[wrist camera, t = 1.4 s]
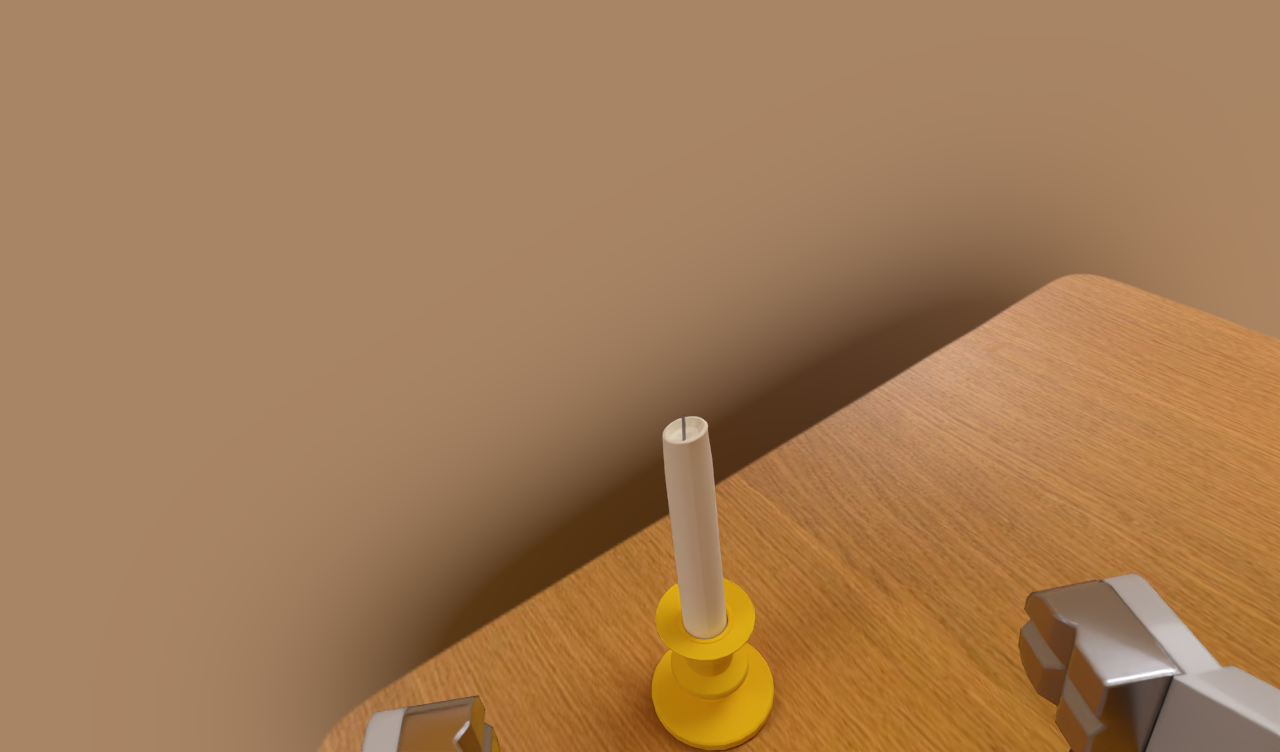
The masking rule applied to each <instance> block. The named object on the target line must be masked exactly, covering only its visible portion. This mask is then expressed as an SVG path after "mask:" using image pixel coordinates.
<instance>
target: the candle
mask: <svg viewBox="0 0 1280 752" xmlns="http://www.w3.org/2000/svg"><path fill="white" fill-rule="evenodd" d="M707 429H708V424H707V423H706V421H705V420H703V419H702V418H699V417H694V416H691V417H684V415H683V416H682V418H680V419H678V420H675V421H674V422H672V423H671V424H669V425H668V426H667V427H666V428H665V430H664V432H663V452H664V466H665V479H666V487H667V495H668V503H669V511H670V520H671V528H672V536H673V544H674V552H675V561H676V569H677V577H678V583H677V584H675V585H674V586H672V587H671V588H670V589H669V590H668V591H667V592H666V593H665V594H664V596H663V597H662V599H661V600H660V602H659V604H658V607H657V610H656V627H657V630H658V634H659V636H660V638H661V639H662V641H663V642H664V644H665V645H666V646H667V647H668V648H669V649H670V650H669V651H668V652H666V653H665V654H664V655H663V657H662V659H661V660H660V662H659V663H658V665H657V667H656V669H655V673H654V676H653V680H652V699H653V703H654V707H655V710H656V714H657V716H658V718H659V719H660V721H661V723H662V724H663V726H664V727H665V729H666V730H667V731H668V732H669V733H671V734H672V735H673V736H674V737H675V738H676V739H677V740H679V741H681V742H683V743H685V744H687V745H689V746H691V747H695V748H699V749H704V750H726V749H729V748H732V747H735V746H738V745H741V744H743V743H744V742H746V741H748V740H749V739H751V738H752V737H754V736H755V735H756V734H757V733H758V732H759V731H760V729H761V728H762V727H763V726H764V725H765V724H766V721H767V719H768V717H769V715H770V713H771V711H772V706H773V700H774V686H773V678H772V674H771V672H770V669H769V667H768V665H767V663H766V661H765V660H764V659H763V657H762V656H761V655H760V654H759V652H758V651H757V650H756V649H754V648H753V647H752V646H750V645H749V644H748V643H746V642H747V641H748V639H749V638H750V636H751V634H752V632H753V629H754V624H755V613H754V607H753V605H752V602H751V600H750V598H749V596H748V595H747V594H746V593H745V592H744V591H743V589H742V588H740V587H739V586H737V585H736V584H735V583H733V582H731V581H729V580H726V579H724V578H723V574H722V563H721V552H720V541H719V530H718V519H717V508H716V497H715V486H714V475H713V464H712V455H711V449H710V442H709V437H708V430H707Z"/></svg>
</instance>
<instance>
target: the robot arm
mask: <svg viewBox="0 0 1280 752" xmlns="http://www.w3.org/2000/svg"><path fill="white" fill-rule="evenodd" d="M1024 610H1025V611H1026V613H1027V614H1028V616H1029V618H1030V620H1029V621H1028V622H1027V623H1026V624H1025V625H1024V626H1023V627H1022V628H1021V629H1020V636H1019V644H1018V646H1019V651H1020V655H1021V660H1022V664H1023V666H1024V669H1025V671H1026V674H1027V676H1028V678H1029V680H1030V682H1031V683H1032V685H1033V687H1034V688H1035V690H1036V692H1037V693H1038V694H1039V695H1040V696H1042V697H1044V698H1045V699H1047V700H1048V701H1050V702H1052V703H1053V704H1055V705H1056V706H1057V711H1056V719H1055V723H1056V724H1057V726H1058V728H1059V729H1060V731H1061V732H1062V734H1063V736H1064V737H1065V739H1066V740H1067V742H1068V744H1069V745H1070V747H1071V748H1072V750H1073V752H1280V689H1278V688H1276V687H1274V686H1272V685H1270V684H1268V683H1266V682H1264V681H1262V680H1260V679H1258V678H1256V677H1254V676H1253V675H1251V674H1249V673H1247V672H1245V671H1243V670H1241V669H1239V668H1237V667H1235V666H1226V667H1222V666H1221V665H1220V664H1219V663H1218V661H1217V660H1216V659H1215V658H1214V657H1213V656H1212V655H1211V654H1210V652H1209V651H1208V650H1207V649H1206V648H1205V647H1204V646H1203V645H1202V643H1201V642H1200V641H1199V640H1198V639H1197V638H1196V637H1195V635H1194V634H1193V633H1192V632H1191V631H1190V630H1189V629H1188V628H1187V626H1186V625H1185V624H1184V623H1183V622H1182V621H1181V620H1180V619H1179V617H1178V616H1177V615H1176V614H1175V613H1174V612H1173V611H1172V609H1171V608H1170V607H1169V606H1168V605H1167V604H1166V603H1165V602H1164V600H1163V599H1162V598H1161V597H1160V596H1159V595H1158V594H1157V592H1156V591H1155V590H1154V589H1153V588H1152V587H1151V586H1150V585H1149V583H1148V582H1147V581H1146V580H1145V579H1144V578H1142V577H1140V576H1139V575H1137V574H1126V575H1122V576H1117V577H1112V578H1107V579H1102V580H1091V581H1086V582H1081V583H1076V584H1071V585H1066V586H1061V587H1056V588H1051V589H1046V590H1041V591H1036V592H1032V593H1031V594H1030V595H1029V596H1028V597H1027V598H1026V603H1025V608H1024ZM484 717H485V708H484V705H483V703H482V701H481V699H480V697H479V695H478V696H472V697H466V698H460V699H454V700H448V701H441V702H435V703H429V704H423V705H417V706H411V707H404V708H398V709H393V710H387V711H382V712H376V713H373V715H372V717H371V719H370V721H369V723H368V724H367V727H366V732H365V736H364V741H363V745H362V750H361V752H500V748H499V744H498V739H497V736H496V733H495V731H494V728H493V727H492V726H490V725H488V724H486V723H484Z"/></svg>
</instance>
